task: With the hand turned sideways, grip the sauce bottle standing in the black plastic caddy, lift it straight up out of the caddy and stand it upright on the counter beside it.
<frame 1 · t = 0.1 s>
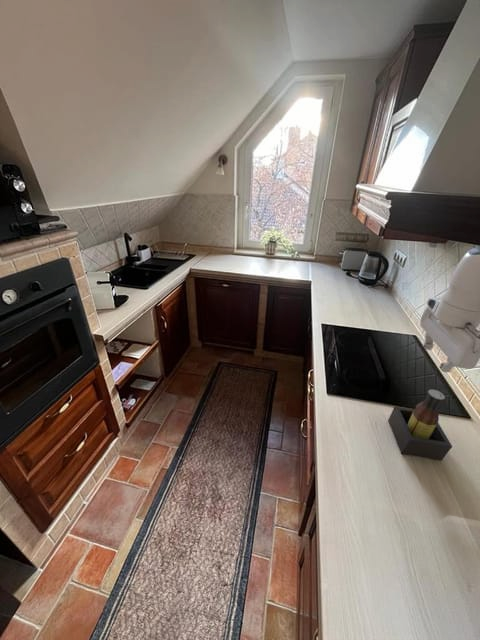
hand: (435, 358, 68), 31 cm above the worktop, tool pointing down, fingers open, 8 cm apart
caddy: (412, 438, 82), on the worktop
sauce bottle: (412, 439, 82), resting in caddy
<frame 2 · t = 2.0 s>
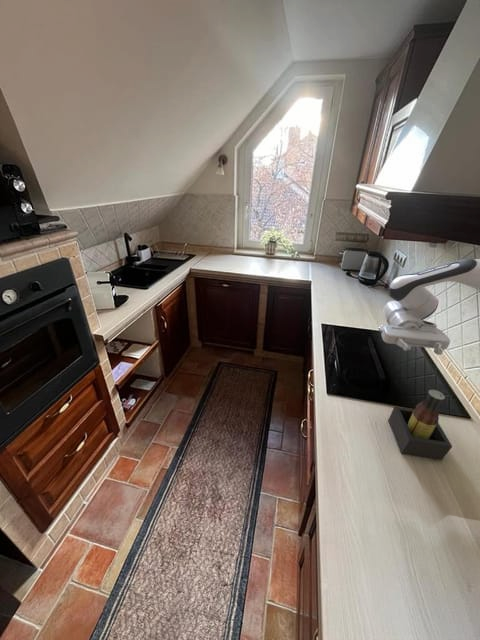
hand: (423, 351, 81), 25 cm above the worktop, tool horizontal, fingers open, 8 cm apart
nothing on the worktop moved.
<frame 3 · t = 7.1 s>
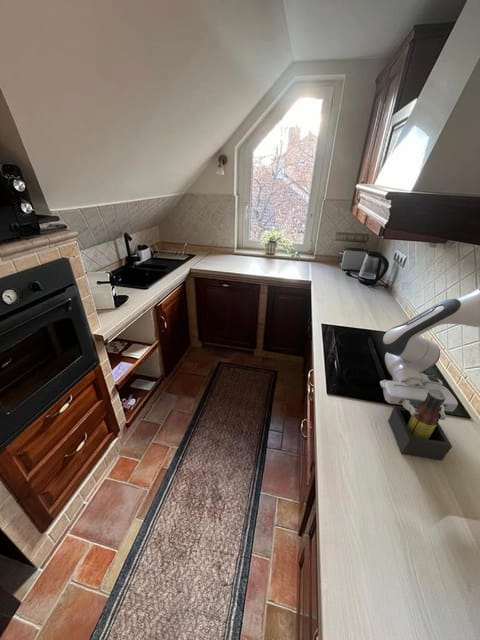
hand: (429, 416, 75), 12 cm above the worktop, tool horizontal, fingers closed on sauce bottle, 6 cm apart
sauce bottle: (412, 439, 82), resting in caddy, touching gripper
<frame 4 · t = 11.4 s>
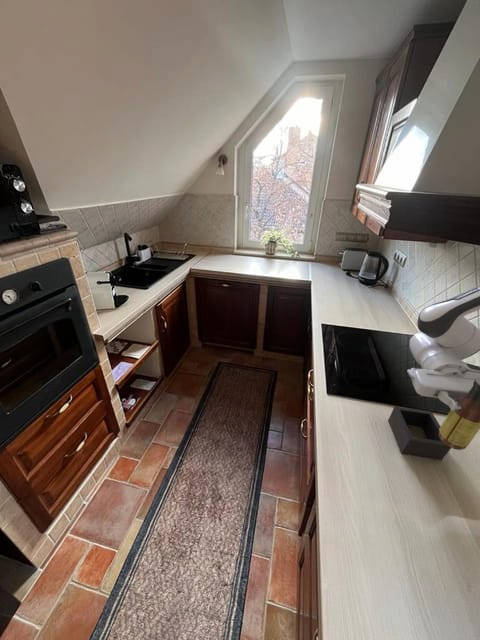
hand: (474, 411, 60), 26 cm above the worktop, tool horizontal, fingers closed on sauce bottle, 6 cm apart
sauce bottle: (449, 440, 67), point 13 cm above the worktop, touching gripper
when the fingers open (12 cm above the worktop, at t = 16.0 s): sauce bottle stays where it is, on the worktop.
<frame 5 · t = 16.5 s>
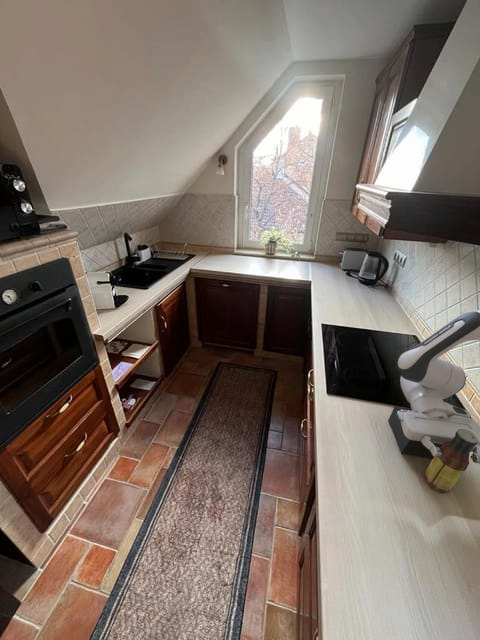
hand: (458, 458, 64), 12 cm above the worktop, tool horizontal, fingers open, 8 cm apart
sauce bottle: (435, 481, 71), on the worktop
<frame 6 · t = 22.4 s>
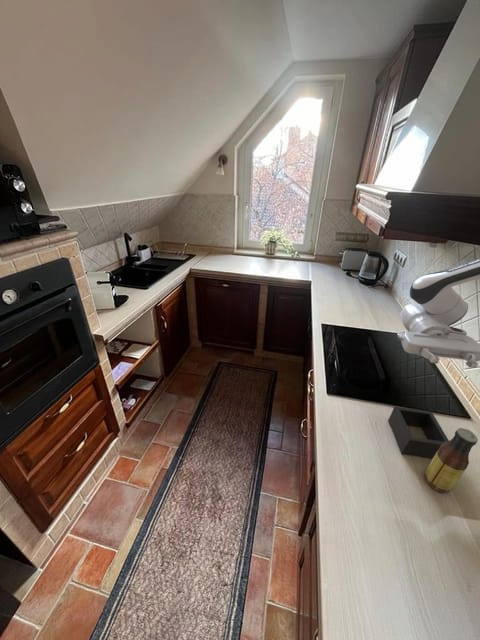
hand: (454, 363, 68), 30 cm above the worktop, tool horizontal, fingers open, 8 cm apart
nothing on the worktop moved.
at the end: sauce bottle inside the target area (0.1 cm from its centre), on the worktop; sauce bottle tilted 0°; the gripper is holding nothing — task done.
